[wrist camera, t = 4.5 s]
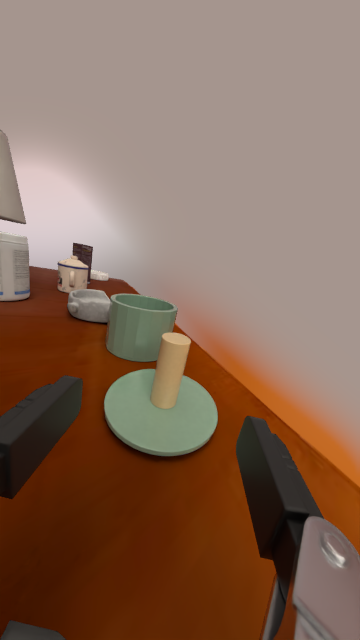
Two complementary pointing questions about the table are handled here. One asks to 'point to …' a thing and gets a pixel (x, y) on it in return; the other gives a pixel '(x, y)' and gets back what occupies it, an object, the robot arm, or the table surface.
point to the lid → (162, 405)
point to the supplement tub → (14, 267)
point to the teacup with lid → (72, 275)
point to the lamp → (9, 186)
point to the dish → (89, 305)
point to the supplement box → (84, 256)
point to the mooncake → (99, 275)
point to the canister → (138, 326)
